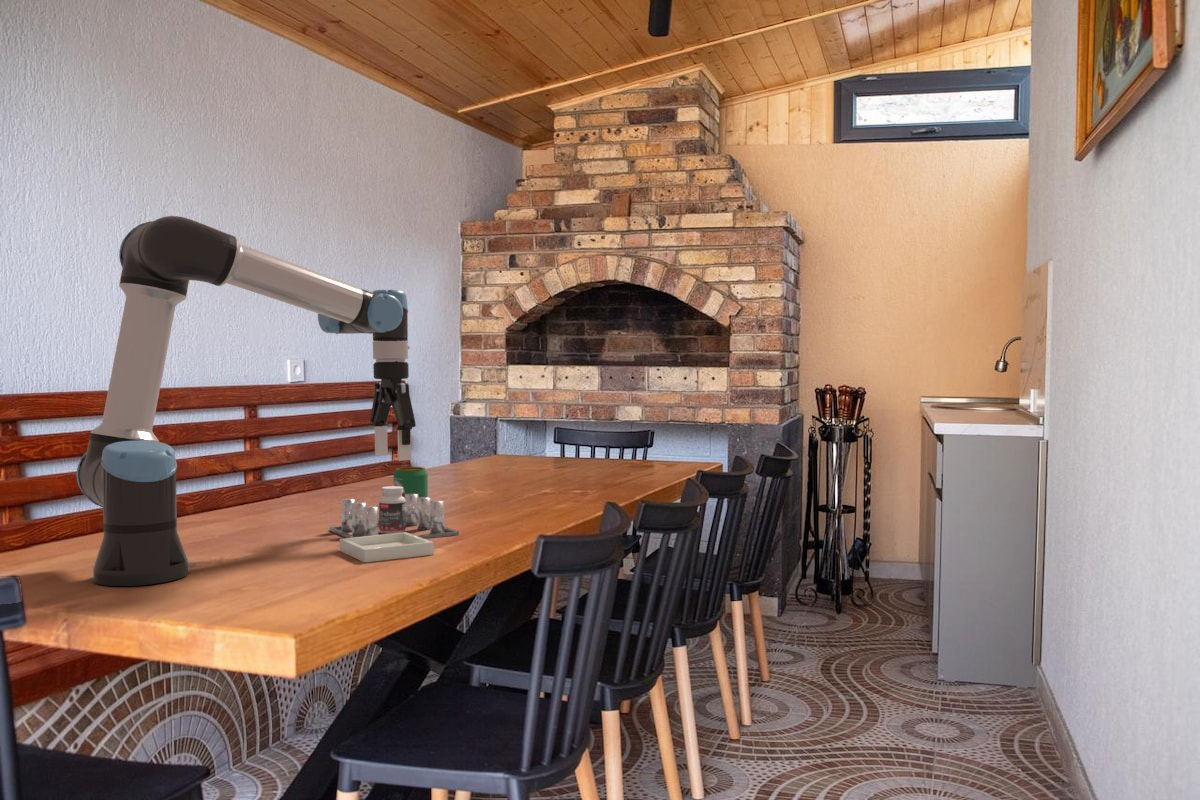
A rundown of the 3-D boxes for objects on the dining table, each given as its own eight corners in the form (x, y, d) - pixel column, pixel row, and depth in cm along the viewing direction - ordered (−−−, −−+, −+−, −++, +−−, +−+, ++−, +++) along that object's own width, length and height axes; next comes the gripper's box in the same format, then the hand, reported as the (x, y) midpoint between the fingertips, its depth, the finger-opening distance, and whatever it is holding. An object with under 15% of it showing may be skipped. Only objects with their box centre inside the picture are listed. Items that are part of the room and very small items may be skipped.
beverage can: (387, 518, 242) (387, 468, 242) (416, 514, 247) (415, 465, 247) (405, 522, 236) (404, 471, 236) (434, 518, 242) (433, 468, 241)
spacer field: (362, 545, 207) (362, 511, 206) (328, 530, 225) (327, 498, 225) (460, 534, 219) (460, 502, 219) (420, 521, 237) (419, 491, 237)
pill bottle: (377, 534, 219) (376, 489, 219) (381, 530, 225) (381, 485, 225) (403, 534, 220) (403, 488, 219) (407, 529, 225) (407, 485, 225)
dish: (364, 562, 189) (364, 549, 189) (339, 550, 201) (339, 538, 200) (433, 554, 196) (433, 542, 196) (406, 543, 208) (405, 532, 208)
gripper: (430, 360, 213) (431, 461, 214) (386, 360, 233) (387, 452, 234) (396, 361, 208) (398, 463, 209) (354, 361, 229) (356, 454, 230)
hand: (392, 457), depth 222 cm, fingers open, 13 cm apart
